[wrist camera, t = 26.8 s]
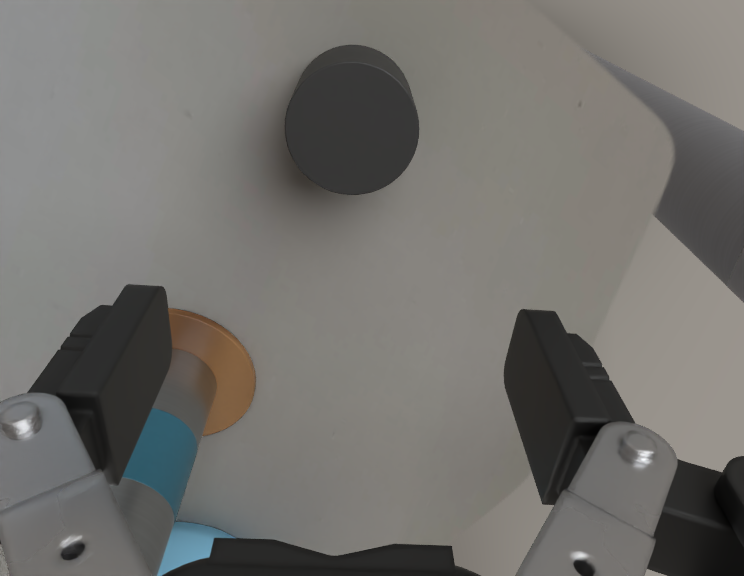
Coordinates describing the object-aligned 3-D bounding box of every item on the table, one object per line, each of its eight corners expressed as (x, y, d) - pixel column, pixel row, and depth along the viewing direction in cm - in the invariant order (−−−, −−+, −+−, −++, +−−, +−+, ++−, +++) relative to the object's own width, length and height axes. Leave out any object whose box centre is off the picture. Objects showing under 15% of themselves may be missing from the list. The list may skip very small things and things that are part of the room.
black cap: (419, 50, 29) (427, 67, 25) (405, 168, 32) (410, 199, 28) (295, 39, 29) (285, 55, 25) (293, 159, 32) (284, 190, 28)
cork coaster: (254, 312, 37) (252, 318, 37) (257, 435, 43) (256, 441, 42) (79, 302, 37) (75, 307, 36) (106, 428, 42) (103, 434, 42)
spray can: (214, 350, 38) (131, 583, 24) (219, 415, 41) (147, 655, 27) (124, 345, 38) (-12, 578, 24) (135, 411, 41) (20, 652, 27)
